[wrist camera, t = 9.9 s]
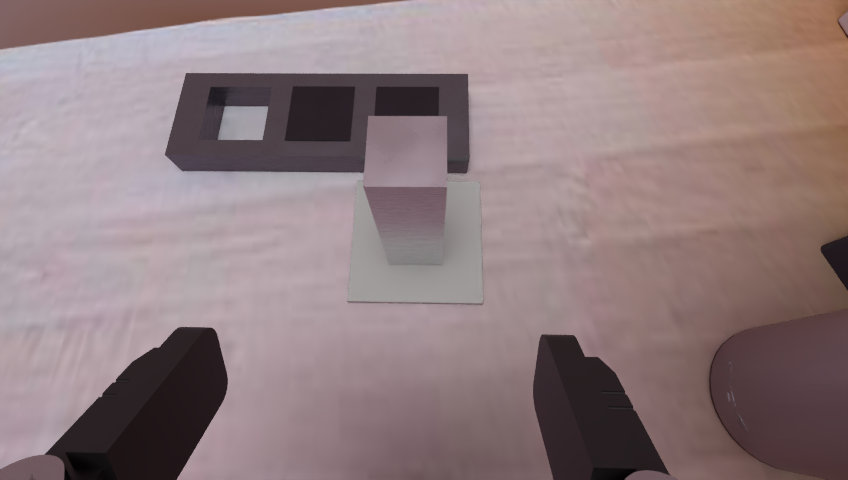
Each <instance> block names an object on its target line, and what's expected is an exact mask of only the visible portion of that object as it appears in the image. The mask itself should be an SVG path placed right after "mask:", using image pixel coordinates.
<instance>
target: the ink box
mask: <svg viewBox="0 0 848 480" xmlns="http://www.w3.org/2000/svg"><path fill="white" fill-rule="evenodd" d="M838 22H839V23H840V25H841V26H842V28H843V30H844V31H845V33H846V34H847V36H848V11H847V12H846V13H845V14H844V15H843V16H842V17H841V18H840V19H839V20H838Z"/></svg>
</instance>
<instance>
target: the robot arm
mask: <svg viewBox="0 0 848 480" xmlns="http://www.w3.org/2000/svg"><path fill="white" fill-rule="evenodd" d="M710 383H711V393H712V398H713V401H714V404H715V408H716V411H717V413H718V415H719V417H720V419H721V421H722V423H723V425H724V426H725V427H726V429H727V430H728V431H729V433H730V434H731V436H732V437H733V438H734V439H735V440H736V441H737V442H738V443H739V444H740V445H741V446H742V447H743V448H744V449H745V450H746V451H747V452H749V453H750V454H751V455H753V456H754V457H756V458H757V459H759V460H760V461H762V462H764V463H766V464H769V465H771V466H773V467H775V468H778V469H782V470H787V471H791V472H795V473H800V474H805V475H809V476H814V477H819V478H823V479H828V480H848V309H843V310H838V311H834V312H829V313H824V314H820V315H815V316H810V317H805V318H801V319H796V320H790V321H786V322H781V323H777V324H772V325H767V326H763V327H758V328H754V329H749V330H745V331H742V332H740V333H738V334H736V335H734V336H732V337H731V338H730V339H729V340H727V341H726V342H725V343H724V344H723V345H722V347H721V348H720V350H719V351H718V352H717V354H716V356H715V359H714V362H713V364H712V369H711V378H710ZM227 384H228V378H227V372H226V368H225V364H224V360H223V356H222V352H221V348H220V344H219V340H218V336H217V333H216V331H215V330H214V329H213V328H204V327H180V328H177V329H176V330H175V331H174V332H173V333H172V334H171V335H170V336H169V337H168V338H167V340H166V341H165V342H164V343H163V344H162V345H161V346H160V347H159V348H153V349H152V350H150V351H149V352H147V353H146V354H144V355H142V356H141V357H139V358H138V359H136V360H135V361H133V362H132V363H131V364H130V365H129V366H128V367H127V368H126V369H125V370H124V371H123V372H122V374H121V375H120V376H119V377H118V378H117V379H116V382H115V383H112V384H111V385H110V386H109V387H108V388H107V389H106V390H105V391H104V393H103V395H102V397H99V398H98V399H97V400H96V401H95V402H94V403H93V404H92V405H91V406H90V407H89V408H88V409H87V410H86V412H85V413H84V414H83V415H82V416H81V417H80V418H79V419H78V420H77V421H76V422H75V423H74V424H73V425H72V426H71V427H70V428H69V429H68V431H67V432H66V433H65V434H64V435H63V436H62V437H61V438H60V439H59V440H58V441H57V442H56V443H55V444H54V445H53V446H52V447H51V448H50V450H49V451H48V452H47V453H46V454H45V455H38V456H33V457H29V458H25V459H22V460H19V461H17V462H14V463H12V464H10V465H8V466H6V467H4V468H2V469H0V480H177V478H178V476H179V475H180V473H181V471H182V470H183V468H184V466H185V465H186V463H187V461H188V459H189V458H190V456H191V454H192V453H193V451H194V449H195V448H196V446H197V444H198V443H199V441H200V439H201V438H202V436H203V434H204V432H205V431H206V429H207V427H208V426H209V424H210V422H211V421H212V419H213V417H214V416H215V414H216V412H217V411H218V409H219V407H220V406H221V404H222V402H223V400H224V398H225V395H226V391H227ZM533 397H534V406H535V411H536V414H537V418H538V422H539V426H540V430H541V433H542V437H543V441H544V445H545V448H546V452H547V456H548V460H549V464H550V467H551V471H552V475H553V479H554V480H678V479H676V478H674V477H672V476H670V474H669V473H668V471H667V469H666V467H665V465H664V464H663V462H662V460H661V458H660V456H659V454H658V452H657V450H656V449H655V447H654V445H653V443H652V441H651V439H650V437H649V435H648V434H647V432H646V430H645V428H644V426H643V424H642V422H641V420H640V419H639V417H638V415H637V413H636V411H634V410H633V405H632V404H631V402H630V400H629V398H628V396H627V395H625V390H624V389H623V387H622V385H621V383H620V381H619V379H618V377H617V375H616V374H615V372H614V371H612V370H611V369H610V368H609V367H608V366H607V365H606V364H605V363H604V362H603V361H601V360H600V359H599V358H598V357H585V356H584V354H583V352H582V349H581V347H580V345H579V343H578V341H577V339H576V337H575V336H574V335H541V337H540V341H539V348H538V355H537V362H536V369H535V376H534V384H533Z"/></svg>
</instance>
